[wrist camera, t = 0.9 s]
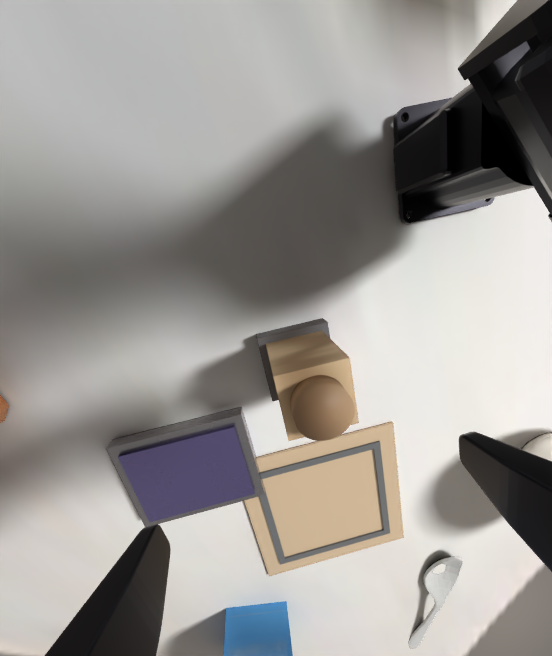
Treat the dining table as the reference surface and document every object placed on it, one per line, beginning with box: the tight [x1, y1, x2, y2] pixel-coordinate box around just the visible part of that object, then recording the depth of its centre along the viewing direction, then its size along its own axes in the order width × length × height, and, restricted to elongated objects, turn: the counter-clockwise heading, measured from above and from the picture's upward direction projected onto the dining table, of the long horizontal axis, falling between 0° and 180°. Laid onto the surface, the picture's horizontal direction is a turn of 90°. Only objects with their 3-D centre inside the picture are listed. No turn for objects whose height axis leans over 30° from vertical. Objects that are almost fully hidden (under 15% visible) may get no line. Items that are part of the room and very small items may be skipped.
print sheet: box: [244, 422, 404, 576], centre depth 23 cm, size 14×14×1 cm
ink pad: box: [106, 407, 265, 527], centre depth 20 cm, size 10×8×1 cm
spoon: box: [408, 556, 462, 649], centre depth 30 cm, size 4×21×2 cm, turn 176°
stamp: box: [256, 318, 359, 441], centre depth 16 cm, size 5×5×7 cm
